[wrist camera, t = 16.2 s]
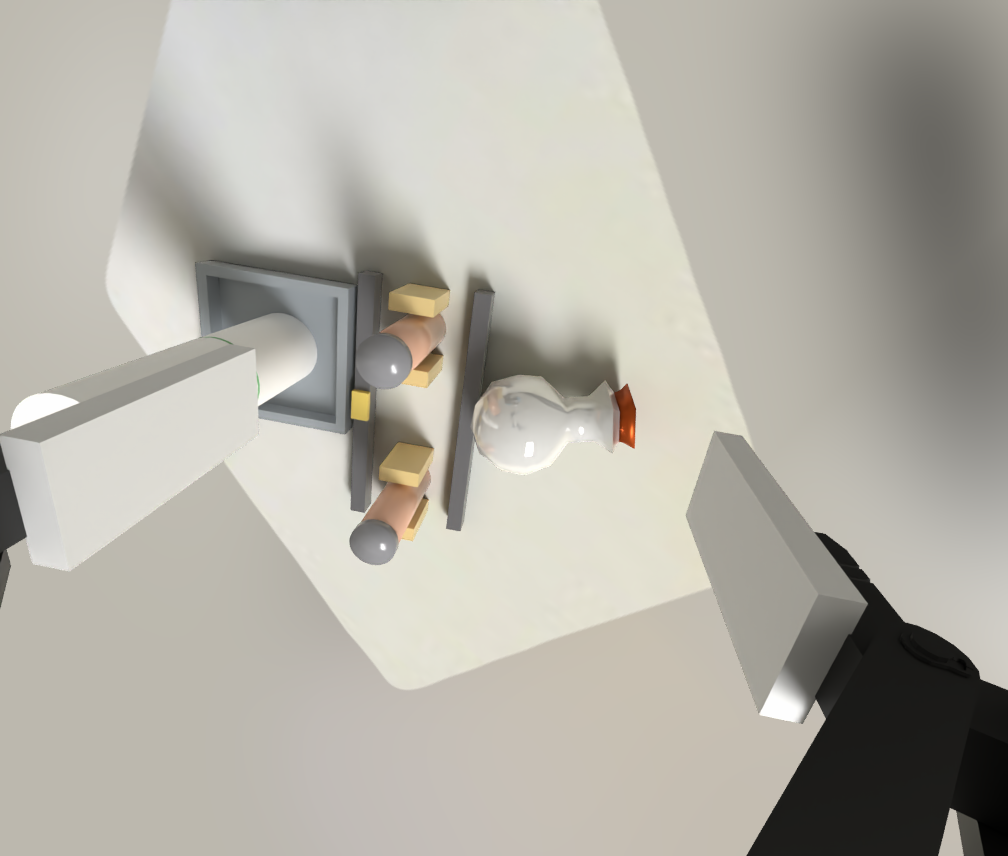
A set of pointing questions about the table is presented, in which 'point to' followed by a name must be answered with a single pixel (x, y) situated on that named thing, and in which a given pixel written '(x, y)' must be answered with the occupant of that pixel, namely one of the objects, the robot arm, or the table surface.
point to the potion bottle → (547, 422)
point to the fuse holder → (409, 459)
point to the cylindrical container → (274, 336)
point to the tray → (312, 301)
